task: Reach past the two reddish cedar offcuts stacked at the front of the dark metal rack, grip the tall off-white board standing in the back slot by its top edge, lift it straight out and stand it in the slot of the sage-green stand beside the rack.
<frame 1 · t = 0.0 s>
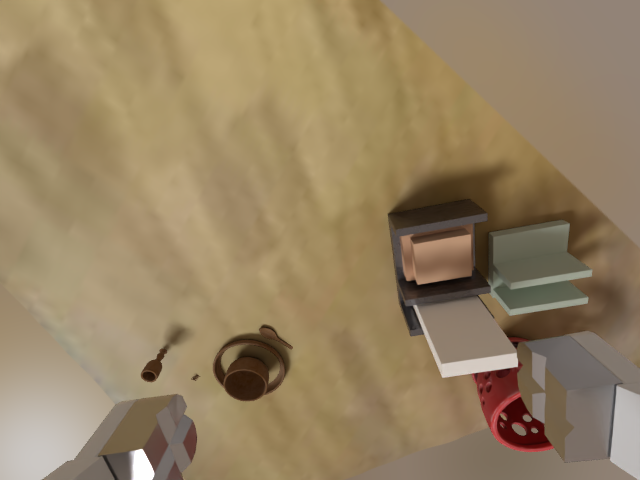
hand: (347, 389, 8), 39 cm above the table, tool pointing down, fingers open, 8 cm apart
place setting: (230, 351, 59), on the table
plant pot: (500, 358, 59), on the table
offcut rack: (431, 255, 51), on the table
offcut upper: (438, 253, 46), point 3 cm above the table, touching offcut lower
offcut lower: (434, 246, 48), point 1 cm above the table, touching offcut rack, offcut upper
tall sheet: (437, 289, 51), point 1 cm above the table, touching offcut rack
sheet stand: (523, 257, 51), on the table
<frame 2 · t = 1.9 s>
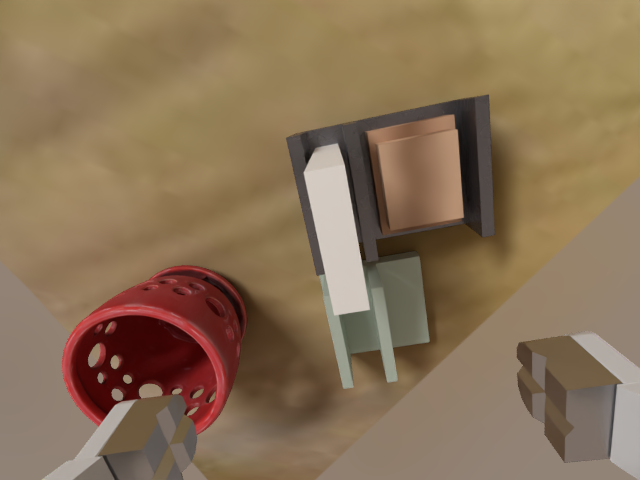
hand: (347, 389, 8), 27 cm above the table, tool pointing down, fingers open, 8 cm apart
plant pot: (198, 304, 39), on the table
offcut rack: (385, 176, 33), on the table
offcut upper: (416, 178, 30), point 3 cm above the table, touching offcut lower
offcut lower: (411, 174, 32), point 1 cm above the table, touching offcut rack, offcut upper
tall sheet: (334, 189, 32), point 1 cm above the table, touching offcut rack
sheet stand: (374, 301, 38), on the table
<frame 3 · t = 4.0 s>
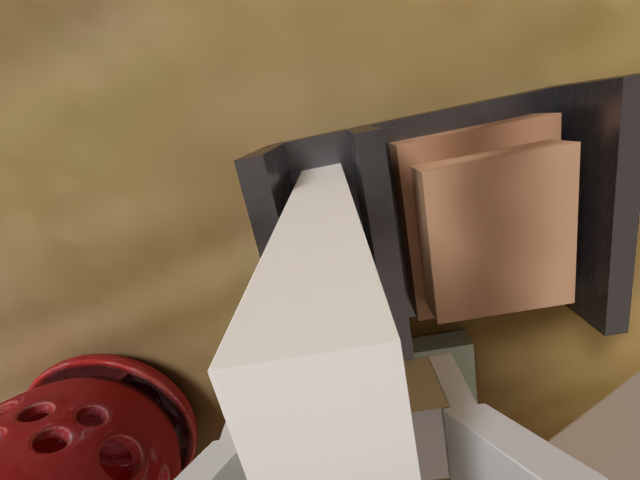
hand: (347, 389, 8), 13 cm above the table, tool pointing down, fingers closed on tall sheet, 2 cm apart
plant pot: (125, 404, 25), on the table
offcut rack: (419, 216, 20), on the table
offcut upper: (482, 227, 17), point 3 cm above the table, touching offcut lower
offcut lower: (466, 216, 18), point 1 cm above the table, touching offcut rack, offcut upper
tall sheet: (335, 240, 19), point 2 cm above the table, touching gripper, offcut rack
sheet stand: (395, 402, 24), on the table
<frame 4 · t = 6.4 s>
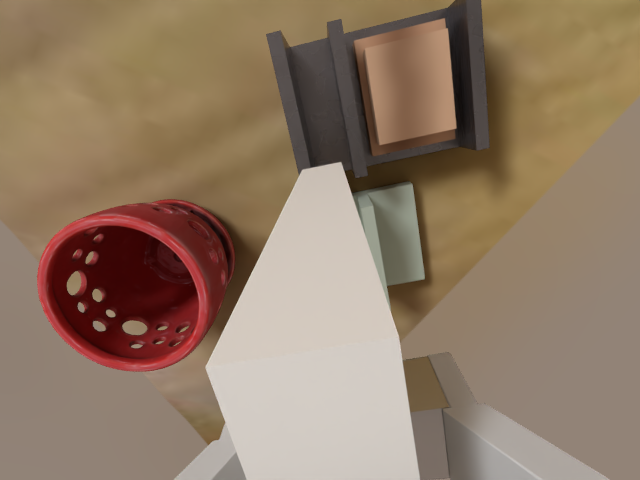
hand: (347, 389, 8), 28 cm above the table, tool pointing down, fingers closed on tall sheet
plant pot: (185, 245, 37), on the table
offcut rack: (375, 99, 32), on the table
offcut upper: (406, 91, 28), point 3 cm above the table, touching offcut lower
offcut lower: (401, 93, 30), point 1 cm above the table, touching offcut rack, offcut upper
tall sheet: (336, 239, 19), point 16 cm above the table, touching gripper
sheet stand: (367, 238, 36), on the table
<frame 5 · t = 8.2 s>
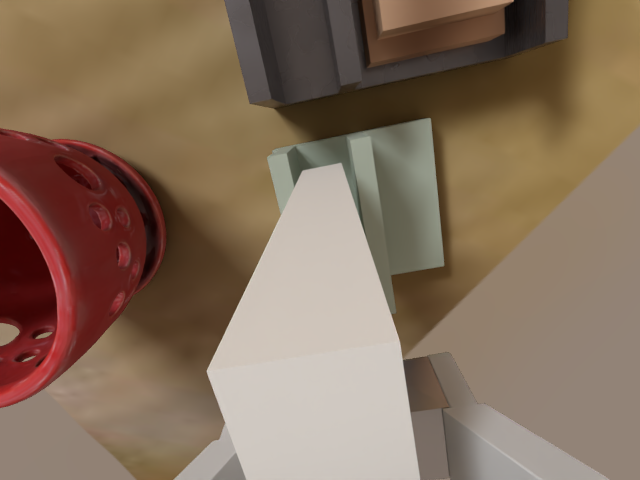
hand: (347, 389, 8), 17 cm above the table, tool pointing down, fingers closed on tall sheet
plant pot: (97, 214, 26), on the table
tall sheet: (336, 240, 19), point 6 cm above the table, touching gripper
sheet stand: (360, 205, 25), on the table
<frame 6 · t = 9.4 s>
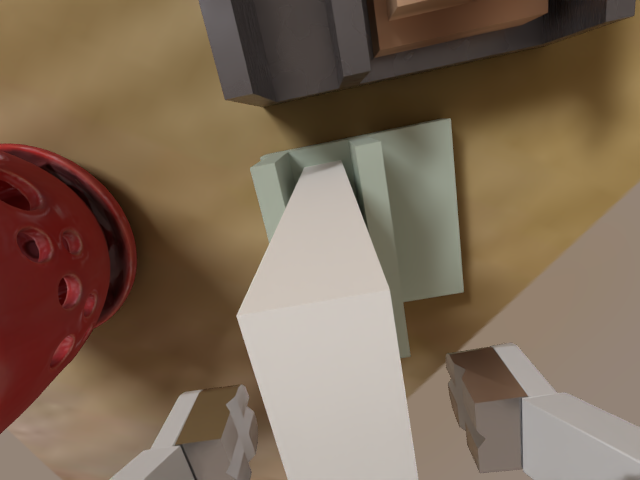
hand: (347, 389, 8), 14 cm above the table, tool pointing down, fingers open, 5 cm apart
plant pot: (57, 230, 22), on the table
tall sheet: (336, 233, 20), point 1 cm above the table, touching sheet stand
sheet stand: (365, 221, 21), on the table
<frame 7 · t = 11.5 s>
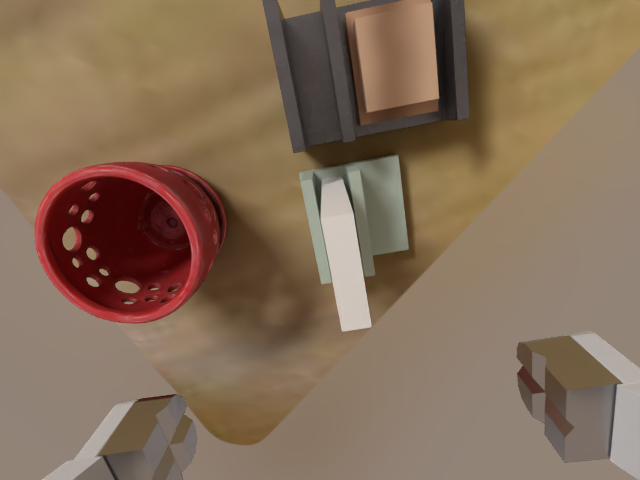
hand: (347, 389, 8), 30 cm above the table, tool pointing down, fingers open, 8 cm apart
plant pot: (178, 213, 38), on the table
offcut rack: (364, 73, 34), on the table
offcut upper: (393, 63, 30), point 3 cm above the table, touching offcut lower
offcut lower: (389, 67, 32), point 1 cm above the table, touching offcut rack, offcut upper
tall sheet: (338, 215, 37), point 1 cm above the table, touching sheet stand
sheet stand: (354, 209, 38), on the table
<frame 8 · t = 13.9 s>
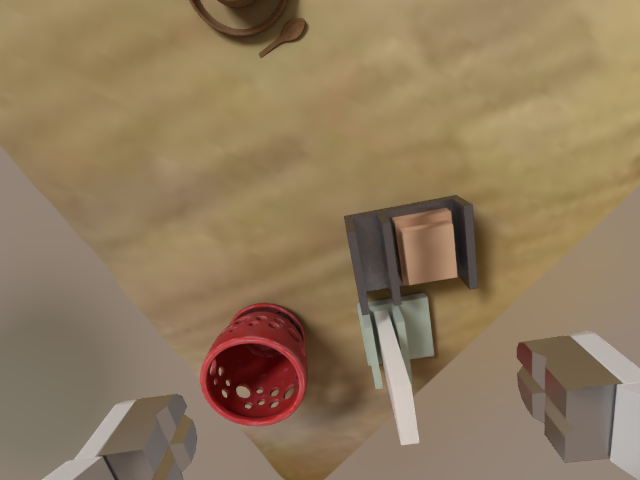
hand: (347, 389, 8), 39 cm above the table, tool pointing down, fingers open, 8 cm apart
plant pot: (268, 329, 54), on the table
offcut rack: (404, 243, 49), on the table
offcut upper: (426, 250, 45), point 3 cm above the table, touching offcut lower
offcut lower: (422, 244, 47), point 1 cm above the table, touching offcut rack, offcut upper
tall sheet: (384, 334, 52), point 1 cm above the table, touching sheet stand
sheet stand: (394, 327, 53), on the table
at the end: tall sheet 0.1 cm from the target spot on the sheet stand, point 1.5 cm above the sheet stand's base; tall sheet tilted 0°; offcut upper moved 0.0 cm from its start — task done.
